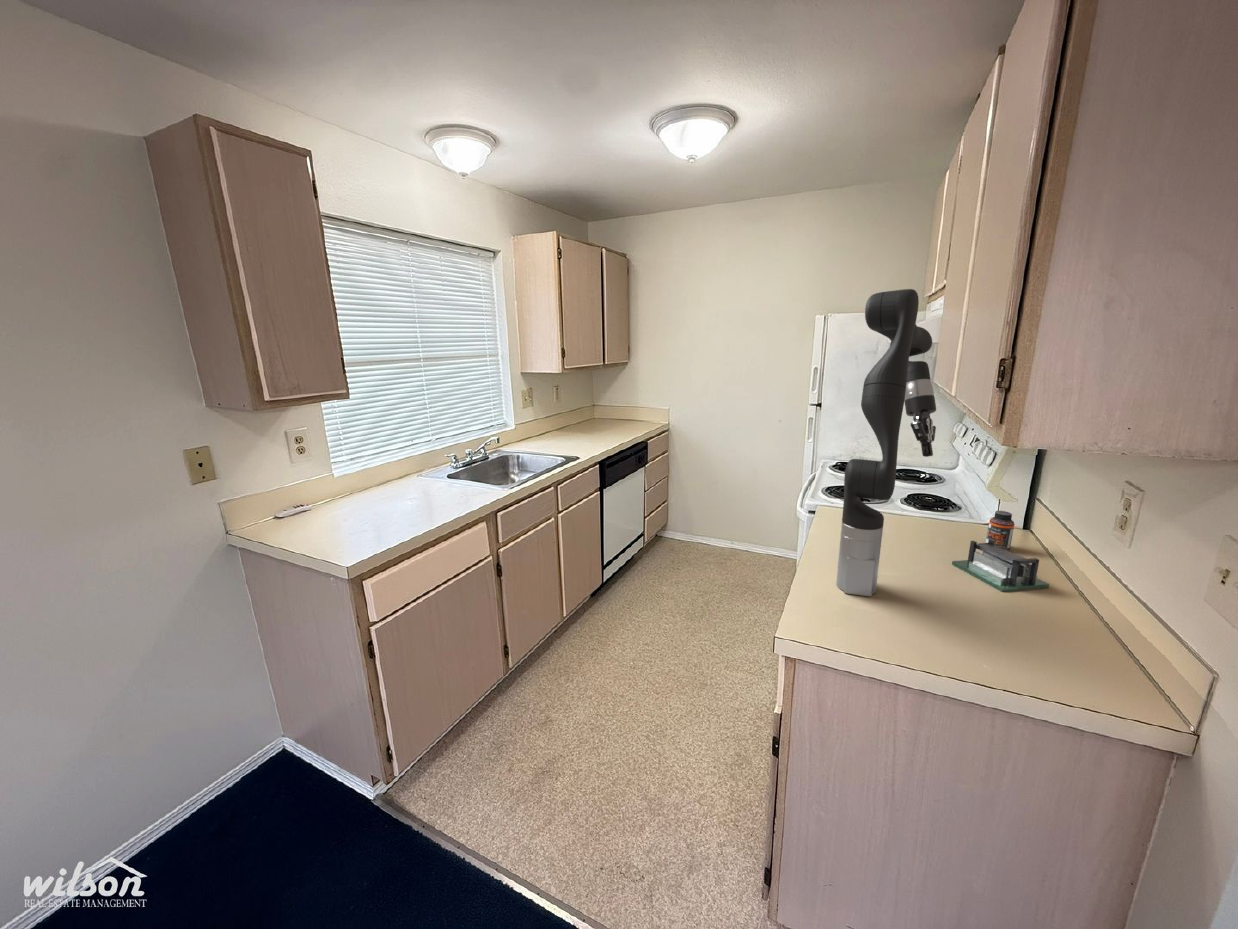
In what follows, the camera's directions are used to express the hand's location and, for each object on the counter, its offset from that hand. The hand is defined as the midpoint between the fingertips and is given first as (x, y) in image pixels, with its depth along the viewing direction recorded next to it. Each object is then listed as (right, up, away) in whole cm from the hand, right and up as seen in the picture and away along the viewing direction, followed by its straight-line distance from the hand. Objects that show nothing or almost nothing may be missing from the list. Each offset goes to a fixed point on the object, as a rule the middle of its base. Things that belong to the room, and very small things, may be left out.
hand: (928, 456), depth 140 cm
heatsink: (+12, -32, -10) cm, 36 cm away
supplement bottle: (+26, -28, +8) cm, 39 cm away
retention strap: (+12, -25, -5) cm, 28 cm away
